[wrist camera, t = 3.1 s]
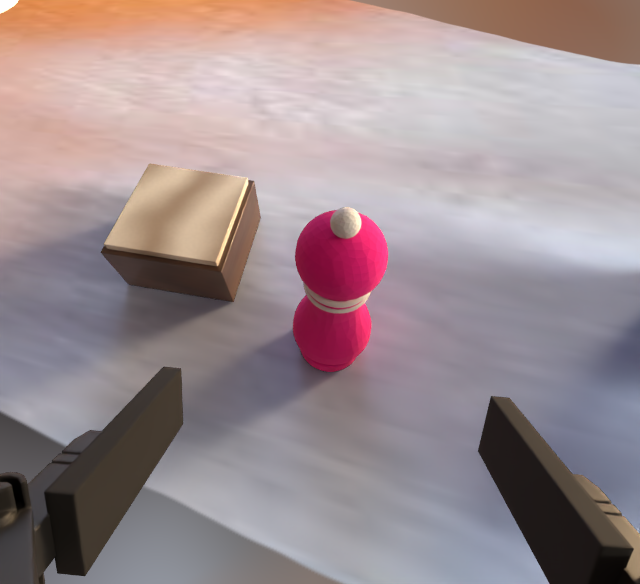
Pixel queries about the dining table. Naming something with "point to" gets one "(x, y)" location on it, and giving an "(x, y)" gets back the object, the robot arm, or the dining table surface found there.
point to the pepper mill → (337, 286)
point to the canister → (7, 4)
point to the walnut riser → (185, 232)
